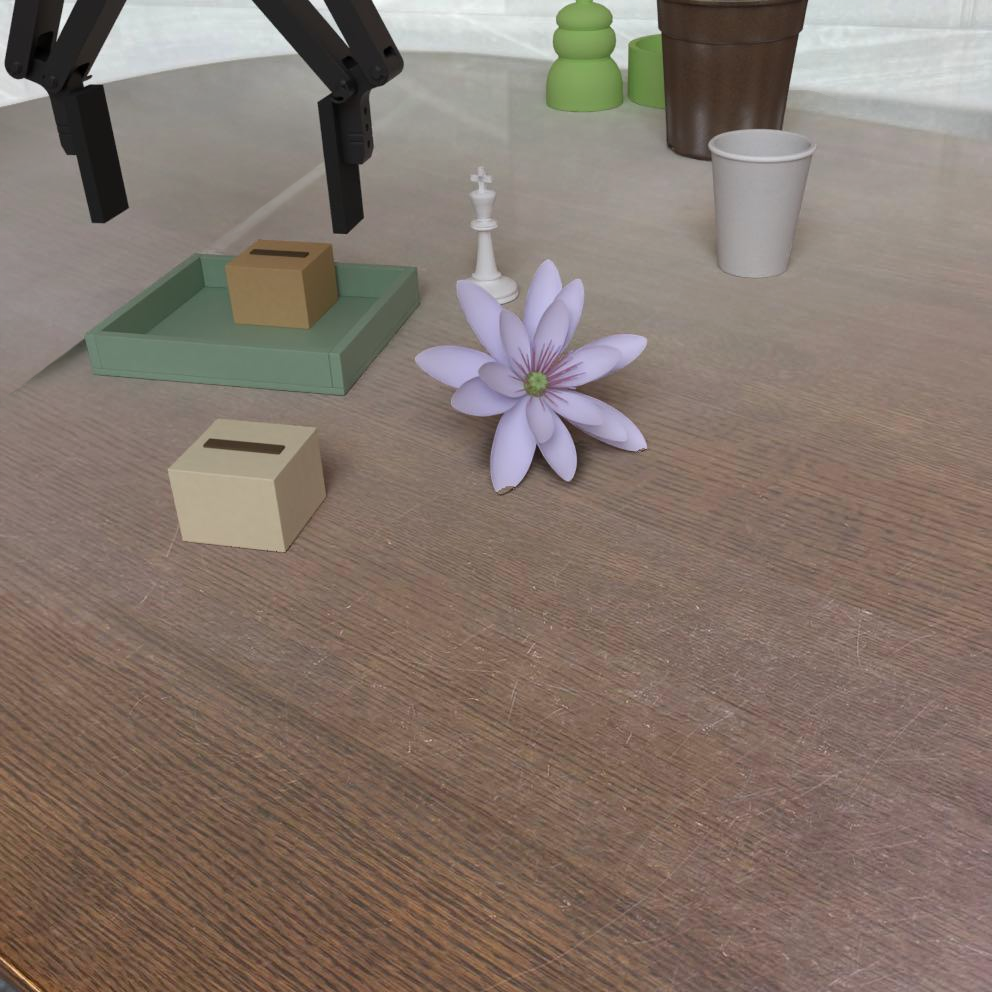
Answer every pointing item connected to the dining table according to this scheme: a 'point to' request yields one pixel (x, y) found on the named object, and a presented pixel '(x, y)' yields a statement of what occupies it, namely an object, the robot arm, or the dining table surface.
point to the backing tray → (252, 331)
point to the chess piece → (488, 243)
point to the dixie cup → (758, 198)
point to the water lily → (534, 376)
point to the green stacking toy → (600, 63)
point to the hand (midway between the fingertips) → (227, 221)
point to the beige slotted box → (248, 484)
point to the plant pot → (725, 67)
